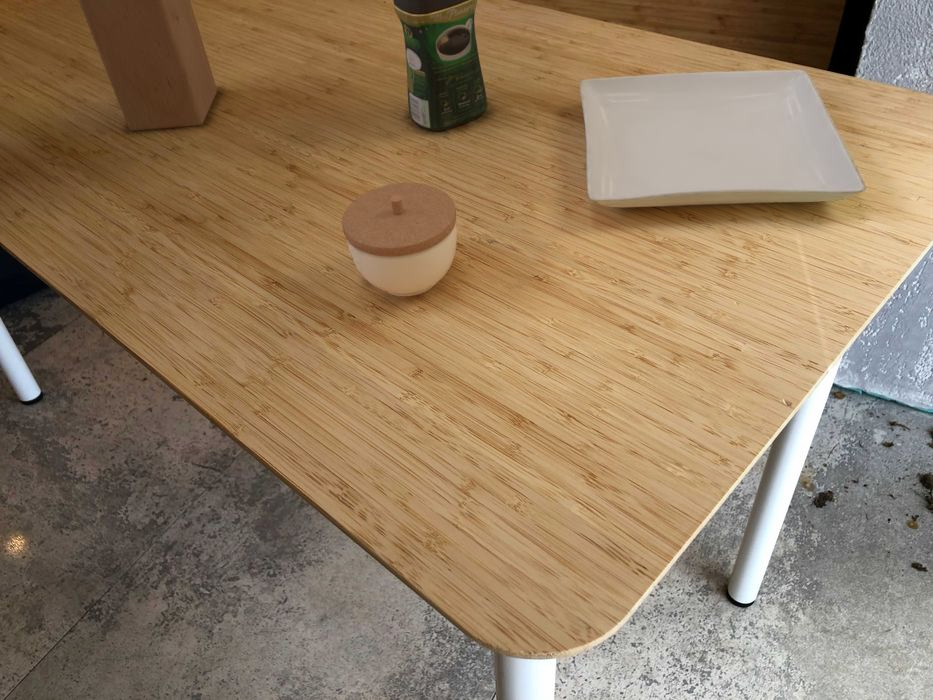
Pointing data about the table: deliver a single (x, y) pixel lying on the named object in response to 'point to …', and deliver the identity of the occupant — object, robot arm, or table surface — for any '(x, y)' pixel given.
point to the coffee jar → (442, 62)
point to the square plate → (713, 140)
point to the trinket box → (402, 236)
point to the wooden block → (153, 60)
